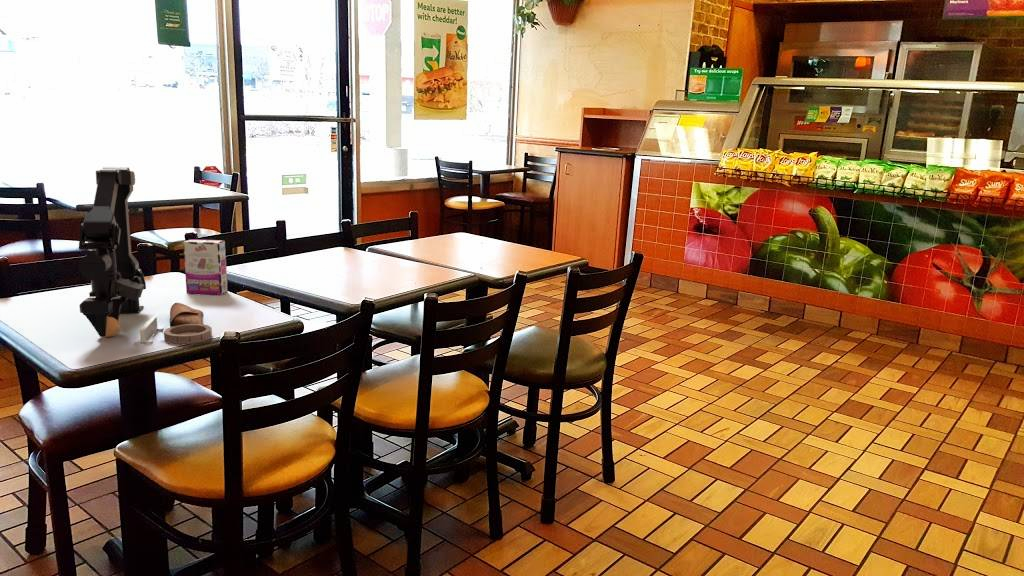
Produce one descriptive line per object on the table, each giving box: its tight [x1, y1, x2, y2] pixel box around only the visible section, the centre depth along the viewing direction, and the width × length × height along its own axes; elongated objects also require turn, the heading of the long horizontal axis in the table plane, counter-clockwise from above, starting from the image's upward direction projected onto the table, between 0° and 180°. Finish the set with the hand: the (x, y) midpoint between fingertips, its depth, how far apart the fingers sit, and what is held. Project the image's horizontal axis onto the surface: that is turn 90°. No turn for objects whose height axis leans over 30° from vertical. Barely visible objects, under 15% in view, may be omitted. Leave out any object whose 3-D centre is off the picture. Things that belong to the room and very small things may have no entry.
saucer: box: [163, 323, 213, 345], centre depth 189 cm, size 11×11×2 cm
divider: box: [133, 316, 165, 345], centre depth 189 cm, size 12×4×4 cm, turn 11°
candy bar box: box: [182, 239, 229, 296], centre depth 231 cm, size 11×5×16 cm, turn 88°
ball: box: [104, 316, 121, 338], centre depth 188 cm, size 5×5×5 cm
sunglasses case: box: [169, 302, 204, 328], centre depth 201 cm, size 18×7×7 cm
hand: (108, 331), depth 188 cm, fingers open, 9 cm apart
